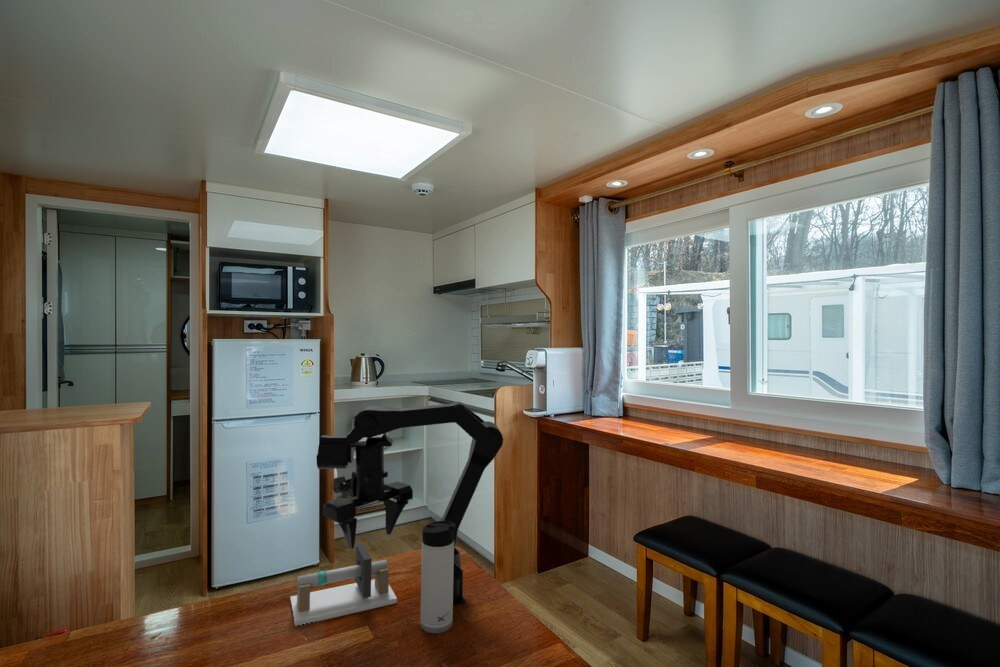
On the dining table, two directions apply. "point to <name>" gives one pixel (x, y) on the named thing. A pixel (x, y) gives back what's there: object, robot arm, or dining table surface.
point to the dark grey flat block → (364, 570)
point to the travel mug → (437, 576)
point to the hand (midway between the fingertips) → (370, 540)
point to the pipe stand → (340, 593)
